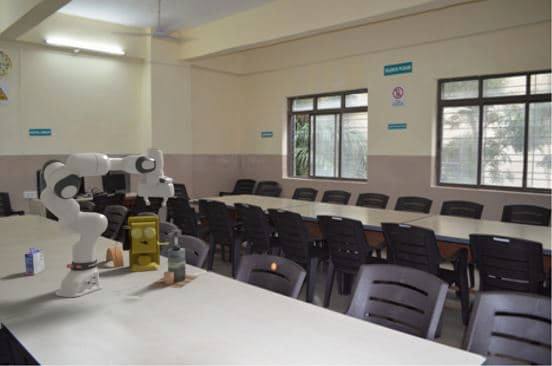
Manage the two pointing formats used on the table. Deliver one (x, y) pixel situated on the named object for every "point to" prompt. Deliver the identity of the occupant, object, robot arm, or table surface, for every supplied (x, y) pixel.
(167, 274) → the pink egg shape
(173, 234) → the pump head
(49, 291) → the table surface
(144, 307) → the table surface
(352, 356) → the table surface
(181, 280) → the stand
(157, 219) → the vintage telephone
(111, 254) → the arch
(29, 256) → the ink cartridge box
